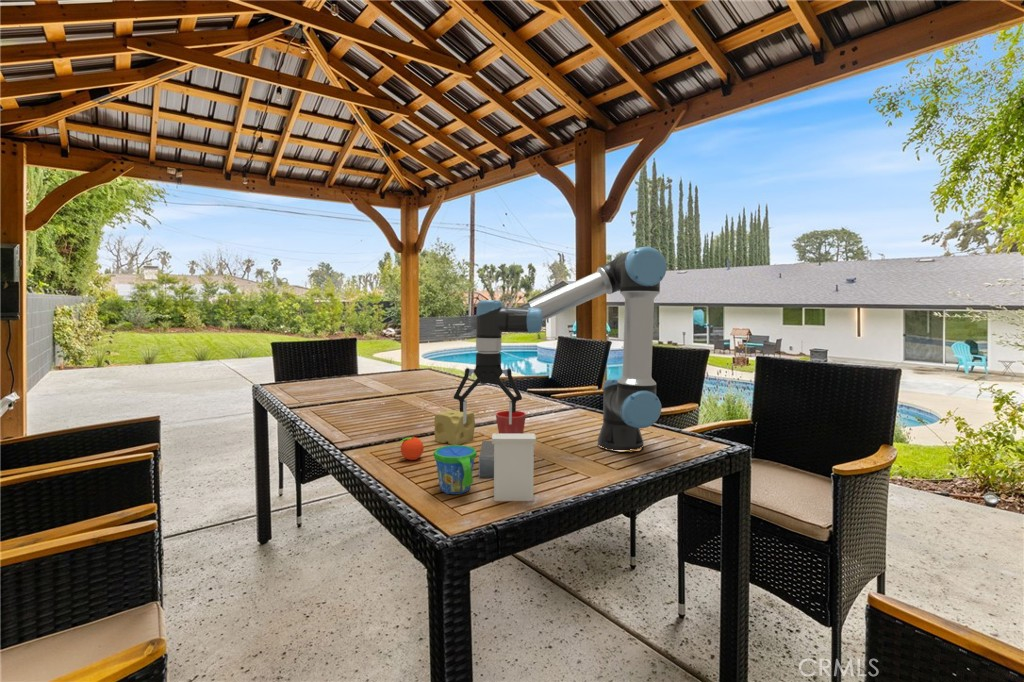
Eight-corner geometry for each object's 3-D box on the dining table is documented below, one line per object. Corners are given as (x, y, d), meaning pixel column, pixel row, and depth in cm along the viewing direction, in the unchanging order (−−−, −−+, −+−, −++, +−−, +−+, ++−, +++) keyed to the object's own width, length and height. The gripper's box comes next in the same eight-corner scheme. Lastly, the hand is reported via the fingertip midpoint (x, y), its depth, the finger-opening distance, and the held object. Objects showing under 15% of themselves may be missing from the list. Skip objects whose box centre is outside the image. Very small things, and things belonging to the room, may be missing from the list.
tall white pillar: (532, 483, 124) (532, 426, 123) (535, 501, 111) (535, 438, 110) (493, 483, 124) (493, 426, 123) (491, 501, 111) (492, 438, 110)
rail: (496, 459, 144) (496, 440, 143) (494, 477, 128) (495, 456, 127) (481, 459, 143) (481, 440, 143) (478, 477, 127) (478, 456, 127)
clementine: (398, 464, 138) (398, 441, 138) (395, 458, 145) (395, 435, 144) (425, 461, 141) (425, 438, 141) (421, 455, 148) (421, 433, 147)
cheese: (456, 446, 158) (456, 417, 157) (432, 441, 164) (432, 413, 163) (475, 439, 167) (475, 412, 166) (452, 435, 173) (452, 408, 172)
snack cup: (485, 497, 114) (485, 456, 113) (443, 504, 109) (443, 462, 109) (464, 477, 128) (464, 440, 127) (427, 482, 124) (426, 445, 123)
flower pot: (492, 444, 161) (492, 416, 160) (499, 435, 172) (499, 409, 171) (523, 445, 159) (523, 417, 159) (527, 437, 170) (527, 410, 170)
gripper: (529, 352, 143) (528, 420, 144) (448, 350, 142) (447, 419, 143) (531, 354, 135) (529, 426, 136) (444, 352, 135) (444, 425, 136)
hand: (487, 423), depth 140 cm, fingers open, 13 cm apart
